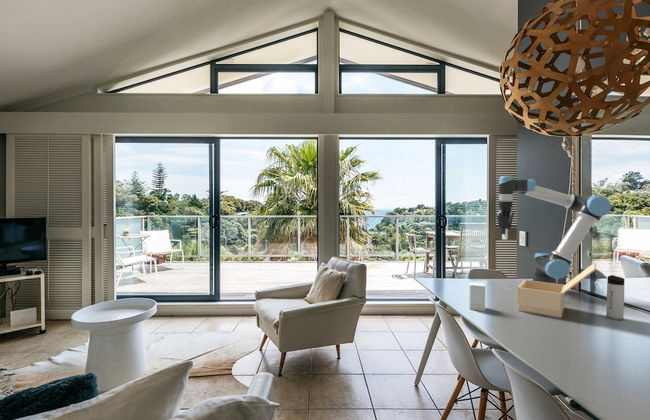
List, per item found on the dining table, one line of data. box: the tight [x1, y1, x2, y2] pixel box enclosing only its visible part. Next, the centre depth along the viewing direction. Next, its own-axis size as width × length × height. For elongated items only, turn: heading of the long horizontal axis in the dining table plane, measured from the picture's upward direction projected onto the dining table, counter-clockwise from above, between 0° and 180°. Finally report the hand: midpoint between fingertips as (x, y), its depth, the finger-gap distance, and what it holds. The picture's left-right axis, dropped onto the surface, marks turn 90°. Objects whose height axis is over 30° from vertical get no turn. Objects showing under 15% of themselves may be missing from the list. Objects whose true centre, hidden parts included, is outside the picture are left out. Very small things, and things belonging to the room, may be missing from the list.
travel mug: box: [605, 275, 625, 321], centre depth 164 cm, size 6×7×20 cm
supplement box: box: [468, 282, 486, 312], centre depth 177 cm, size 7×7×13 cm
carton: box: [516, 279, 566, 319], centre depth 177 cm, size 23×19×12 cm
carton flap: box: [562, 262, 597, 294], centre depth 167 cm, size 21×18×1 cm
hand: (504, 239), depth 211 cm, fingers closed
